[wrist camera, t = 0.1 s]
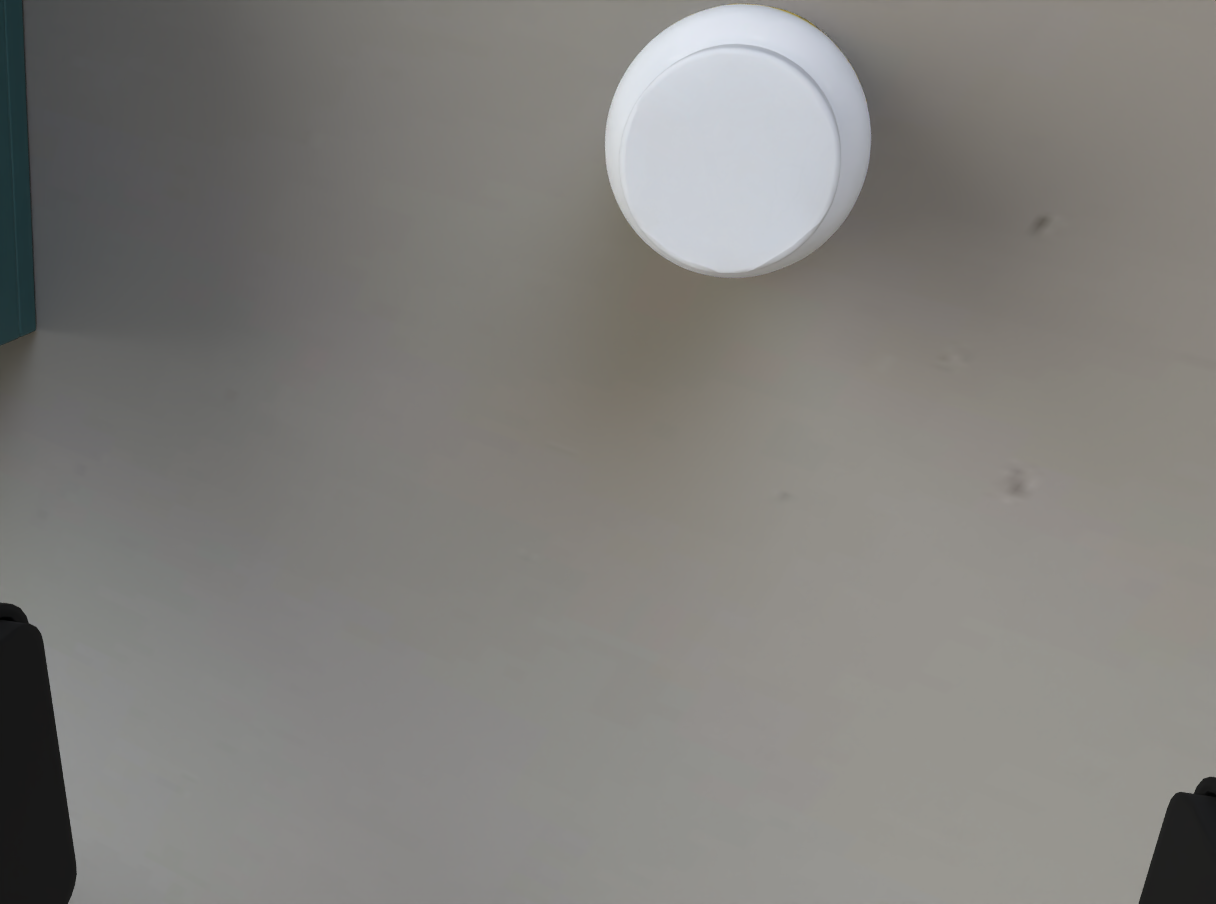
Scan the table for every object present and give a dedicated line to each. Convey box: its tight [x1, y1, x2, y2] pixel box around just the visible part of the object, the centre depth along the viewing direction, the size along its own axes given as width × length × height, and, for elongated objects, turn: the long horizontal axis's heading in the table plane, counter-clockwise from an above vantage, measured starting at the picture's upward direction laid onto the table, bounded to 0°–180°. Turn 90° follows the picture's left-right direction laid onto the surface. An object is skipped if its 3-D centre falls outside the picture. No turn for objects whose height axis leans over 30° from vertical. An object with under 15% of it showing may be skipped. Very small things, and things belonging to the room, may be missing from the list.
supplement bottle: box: [605, 4, 872, 278], centre depth 25 cm, size 5×5×10 cm
